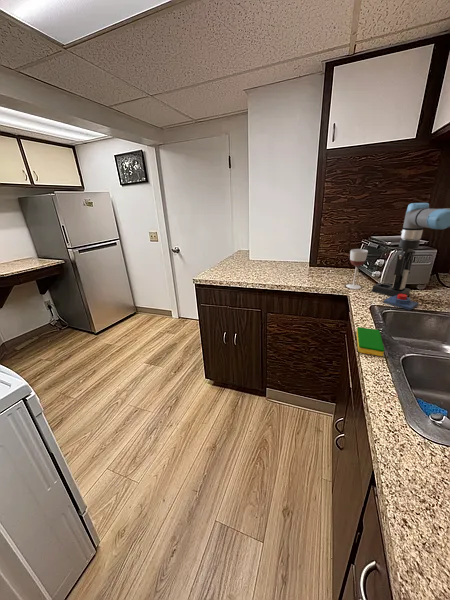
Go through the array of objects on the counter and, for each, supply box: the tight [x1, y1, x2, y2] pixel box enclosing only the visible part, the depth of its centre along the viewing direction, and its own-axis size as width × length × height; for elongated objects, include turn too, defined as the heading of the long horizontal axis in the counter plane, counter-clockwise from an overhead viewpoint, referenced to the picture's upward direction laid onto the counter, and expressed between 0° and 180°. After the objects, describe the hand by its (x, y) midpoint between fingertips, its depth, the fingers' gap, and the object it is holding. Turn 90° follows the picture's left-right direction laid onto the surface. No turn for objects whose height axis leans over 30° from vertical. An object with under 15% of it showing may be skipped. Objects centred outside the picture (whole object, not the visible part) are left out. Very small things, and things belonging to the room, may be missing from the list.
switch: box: [397, 294, 408, 300], centre depth 112 cm, size 4×4×2 cm
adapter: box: [371, 282, 411, 297], centre depth 125 cm, size 14×8×3 cm, turn 35°
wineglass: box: [345, 248, 369, 290], centre depth 133 cm, size 8×9×20 cm
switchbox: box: [382, 295, 419, 311], centre depth 113 cm, size 11×8×3 cm
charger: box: [392, 269, 410, 290], centre depth 121 cm, size 4×4×9 cm
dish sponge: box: [356, 326, 385, 357], centre depth 85 cm, size 7×14×2 cm, turn 156°
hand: (398, 286), depth 122 cm, fingers closed on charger, 4 cm apart
